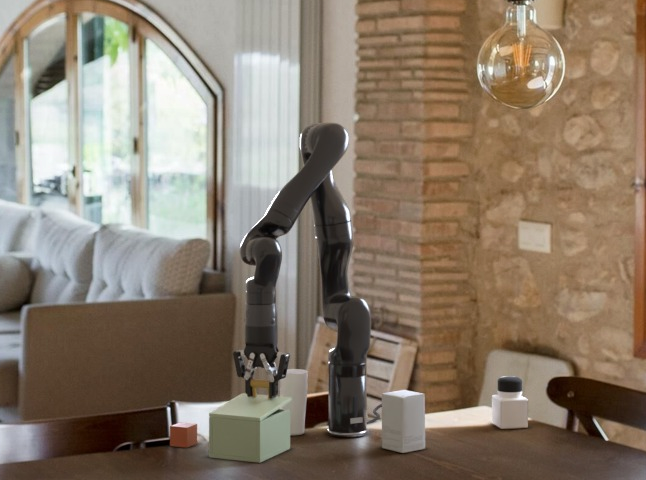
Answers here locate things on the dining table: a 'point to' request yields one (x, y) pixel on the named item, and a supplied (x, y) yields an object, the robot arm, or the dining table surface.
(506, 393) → the medicine bottle
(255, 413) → the lid
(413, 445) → the white packaging box
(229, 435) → the chest
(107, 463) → the dining table surface
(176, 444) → the block
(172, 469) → the dining table surface
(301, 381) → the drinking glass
